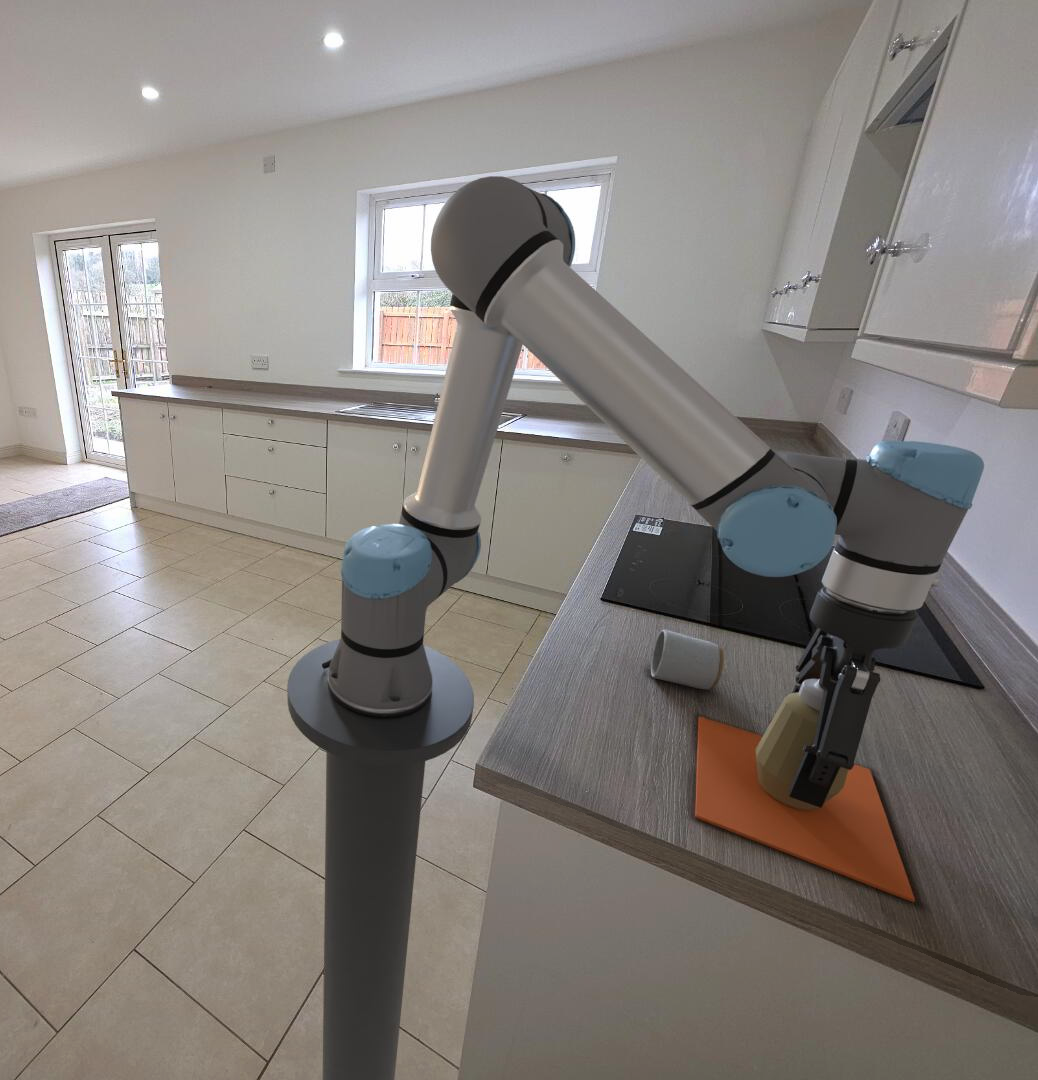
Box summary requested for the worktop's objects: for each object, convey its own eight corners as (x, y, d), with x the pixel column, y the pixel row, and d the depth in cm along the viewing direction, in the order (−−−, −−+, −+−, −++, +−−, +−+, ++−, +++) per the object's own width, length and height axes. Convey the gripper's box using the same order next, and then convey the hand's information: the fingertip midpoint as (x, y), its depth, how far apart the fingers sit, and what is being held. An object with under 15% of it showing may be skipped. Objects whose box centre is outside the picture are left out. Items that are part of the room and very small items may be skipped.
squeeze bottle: (835, 791, 66) (895, 662, 60) (828, 832, 61) (893, 696, 54) (753, 755, 72) (799, 634, 65) (739, 791, 66) (788, 662, 60)
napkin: (694, 817, 63) (695, 815, 63) (698, 718, 79) (699, 716, 79) (913, 902, 54) (915, 900, 54) (868, 771, 70) (870, 769, 70)
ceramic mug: (716, 701, 82) (730, 656, 79) (652, 687, 85) (664, 643, 83) (704, 664, 91) (717, 623, 88) (647, 652, 94) (657, 612, 92)
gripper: (961, 667, 46) (862, 858, 54) (889, 564, 64) (823, 718, 72) (840, 639, 49) (765, 822, 58) (805, 550, 68) (752, 698, 76)
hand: (797, 764), depth 65 cm, fingers open, 11 cm apart
